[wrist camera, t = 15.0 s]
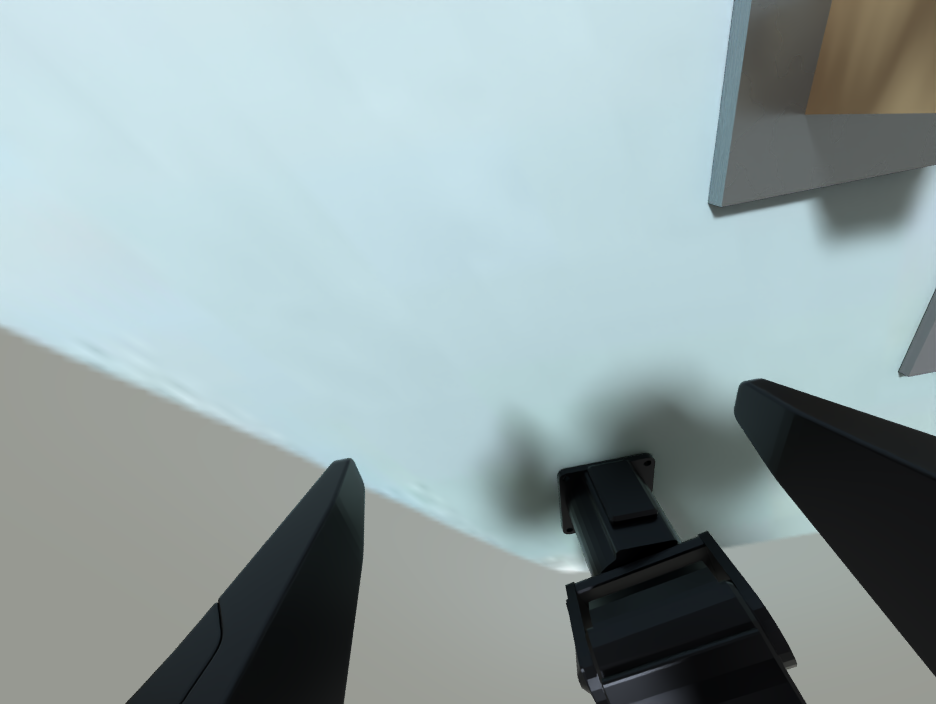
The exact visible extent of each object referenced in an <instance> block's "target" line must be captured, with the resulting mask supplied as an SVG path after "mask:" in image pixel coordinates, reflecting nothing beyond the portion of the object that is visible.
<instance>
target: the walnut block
mask: <svg viewBox="0 0 936 704" xmlns="http://www.w3.org/2000/svg"><path fill="white" fill-rule="evenodd" d="M903 113H936V0H832V3H831V8H830V12H829V16H828V20H827V24H826V28H825V33H824V37H823V41H822V45H821V49H820V53H819V58H818V62H817V66H816V70H815V74H814V78H813V83H812V87H811V91H810V95H809V99H808V103H807V108H806V112H805V115H813V114H903Z"/></svg>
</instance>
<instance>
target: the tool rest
mask: <svg viewBox="0 0 936 704" xmlns="http://www.w3.org/2000/svg"><path fill="white" fill-rule="evenodd" d="M831 3H832V0H734V7H733V15H732V22H731V30H730V38H729V46H728V53H727V61H726V69H725V76H724V84H723V92H722V100H721V107H720V115H719V123H718V131H717V138H716V146H715V154H714V161H713V169H712V177H711V185H710V192H709V200H708V203H710V204H713V205H717V206H720V207H724V206H729V205H734V204H739V203H744V202H749V201H754V200H759V199H764V198H769V197H774V196H779V195H785V194H790V193H795V192H800V191H805V190H810V189H815V188H820V187H825V186H830V185H835V184H840V183H845V182H850V181H855V180H860V179H865V178H870V177H876V176H881V175H886V174H891V173H896V172H901V171H906V170H911V169H916V168H921V167H926V166H931V165H936V113H903V114H813V115H805V112H806V108H807V103H808V99H809V95H810V91H811V87H812V83H813V78H814V74H815V70H816V66H817V62H818V58H819V53H820V49H821V45H822V41H823V37H824V33H825V28H826V24H827V20H828V16H829V12H830V8H831Z"/></svg>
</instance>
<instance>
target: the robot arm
mask: <svg viewBox="0 0 936 704" xmlns="http://www.w3.org/2000/svg"><path fill="white" fill-rule="evenodd" d="M734 415H735V418H736V420H737V422H738V423H739V425H740V426H741V428H742V429H743V431H744V432H745V434H746V435H747V437H748V438H749V440H750V441H751V443H752V444H753V446H754V447H755V449H756V450H757V452H758V454H759V455H760V457H761V458H762V460H763V461H764V463H765V464H766V466H767V467H768V469H769V470H770V472H771V473H772V474H773V476H774V477H775V479H776V480H777V481H778V482H779V484H780V485H781V486H782V488H783V489H784V490H785V491H786V493H787V494H788V495H789V496H790V497H791V499H792V500H793V501H794V502H795V504H796V505H797V506H798V507H799V509H800V510H801V511H802V512H803V514H804V515H805V516H806V517H807V518H808V520H809V521H810V522H811V523H812V525H813V526H814V527H815V528H816V530H817V531H818V532H819V533H820V535H821V536H822V537H823V538H824V539H825V541H826V542H827V543H828V544H829V546H830V547H831V548H832V549H833V551H834V552H835V553H836V554H837V556H838V557H839V558H840V559H841V560H842V562H843V563H844V564H845V565H846V567H847V568H848V569H849V570H850V572H851V573H852V574H853V575H854V577H855V578H856V579H857V580H858V581H859V583H860V584H861V585H862V586H863V588H864V589H865V590H866V591H867V593H868V594H869V595H870V596H871V597H872V599H873V600H874V601H875V603H876V604H877V605H878V606H879V607H880V609H881V610H882V611H883V612H884V613H885V615H886V616H887V617H888V618H889V620H890V621H891V622H892V624H893V625H894V626H895V627H896V628H897V630H898V631H899V632H900V633H901V635H902V636H903V637H904V638H905V640H906V641H907V642H908V643H909V645H910V646H911V647H912V648H913V649H914V651H915V652H916V653H917V654H918V656H919V657H920V658H921V659H922V660H923V662H924V663H925V664H926V666H927V667H928V668H929V669H930V670H931V672H932V673H933V674H934V675H935V676H936V436H933V435H930V434H927V433H924V432H921V431H918V430H915V429H912V428H909V427H906V426H903V425H900V424H897V423H894V422H891V421H888V420H885V419H882V418H879V417H876V416H873V415H870V414H867V413H864V412H861V411H858V410H855V409H852V408H849V407H846V406H843V405H840V404H837V403H834V402H831V401H828V400H825V399H822V398H819V397H816V396H813V395H810V394H807V393H804V392H801V391H798V390H795V389H792V388H789V387H786V386H783V385H780V384H777V383H774V382H771V381H768V380H765V379H753V380H748V381H744V382H742V383H741V384H740V385H739V388H738V392H737V397H736V402H735V406H734ZM654 467H655V460H654V458H653V457H652V455H651V454H648V453H646V454H640V455H635V456H630V457H625V458H619V459H614V460H609V461H604V462H599V463H594V464H588V465H583V466H578V467H573V468H568V469H563V470H561V471H559V473H558V475H557V478H558V490H559V502H560V514H561V526H562V529H563V532H564V533H565V534H573V533H576V535H577V538H578V540H579V543H580V546H581V549H582V551H583V554H584V557H585V560H586V562H587V565H588V568H589V571H590V573H591V576H592V577H590V578H588V579H585V580H583V581H580V582H577V583H574V582H572V583H570V584H567V585H565V586H566V591H567V596H568V599H567V600H566V602H567V603H566V605H567V609H568V612H569V616H570V622H571V627H572V632H573V637H574V642H575V649H576V662H577V675H578V679H579V682H580V685H581V687H582V688H583V689H584V690H586V691H587V692H588V693H590V694H591V695H592V696H593V698H594V700H595V702H596V704H806V702H805V700H804V699H803V697H802V695H801V694H800V692H799V690H798V689H797V687H796V685H795V684H794V682H793V680H792V679H791V677H790V675H789V674H788V672H787V669H790V668H793V667H796V666H797V663H796V660H795V657H794V656H793V653H792V651H791V649H790V647H789V645H788V643H787V642H786V640H785V638H784V636H783V635H782V633H781V631H780V629H779V628H778V626H777V625H776V623H775V621H774V620H773V618H772V617H771V615H770V614H769V612H768V610H767V609H766V607H765V606H764V605H763V603H762V602H761V600H760V599H759V597H758V596H757V594H756V593H755V592H754V591H753V590H752V588H751V586H750V585H749V584H748V583H747V581H746V580H745V579H744V577H743V576H742V575H741V574H740V572H739V571H738V570H737V568H736V567H735V566H734V565H733V563H732V562H731V561H730V560H729V558H728V557H727V556H726V554H725V553H724V552H723V550H722V549H721V548H720V547H719V545H718V544H717V543H716V541H715V540H714V539H713V537H712V536H711V535H710V534H709V532H708V531H706V532H703V533H701V534H698V537H695V538H693V539H690V540H687V541H685V542H681V540H680V539H679V537H678V535H677V534H676V532H675V530H674V529H673V527H672V525H671V524H670V522H669V520H668V519H667V517H666V515H665V514H664V512H663V510H662V509H661V507H660V505H659V504H658V502H657V500H656V499H655V497H654V495H653V494H652V489H653V478H654ZM565 476H566V477H565ZM364 504H365V487H364V483H363V480H362V478H361V476H360V473H359V471H358V469H357V467H356V464H355V462H354V461H353V460H352V459H351V458H346V459H341V460H336V461H334V462H333V463H332V464H331V465H330V466H329V467H328V468H327V469H326V471H325V472H324V473H323V474H322V476H321V477H320V478H319V479H318V480H317V481H316V483H315V484H314V485H313V486H312V488H311V489H310V490H309V491H308V492H307V493H306V495H305V496H304V497H303V498H302V499H301V501H300V502H299V503H298V504H297V505H296V507H295V508H294V509H293V510H292V511H291V513H290V514H289V515H288V516H287V517H286V519H285V520H284V521H283V522H282V524H281V525H280V526H279V527H278V528H277V530H276V531H275V532H274V533H273V534H272V535H271V537H270V538H269V539H268V540H267V541H266V543H265V544H264V545H263V546H262V547H261V549H260V550H259V551H258V552H257V553H256V555H255V556H254V557H253V558H252V559H251V561H250V562H249V563H248V564H247V565H246V567H245V568H244V569H243V570H242V571H241V573H240V574H239V575H238V576H237V577H236V579H235V580H234V581H233V582H232V584H230V586H229V587H228V588H227V589H226V590H225V592H224V593H223V594H222V595H221V596H220V598H219V600H218V603H215V604H214V605H213V606H212V607H211V608H210V610H209V611H208V612H207V613H206V614H205V616H204V617H203V618H202V619H201V620H200V621H199V623H198V624H197V625H196V626H195V627H194V628H193V630H192V631H191V632H190V633H189V634H188V635H187V636H186V638H185V639H184V640H183V641H182V642H181V644H180V645H179V646H178V647H177V648H176V650H175V651H174V652H173V653H172V654H171V655H170V656H169V657H168V658H167V659H166V660H165V661H164V662H163V664H162V665H161V666H160V667H159V668H158V669H157V670H156V671H155V672H154V673H153V674H152V676H151V677H150V678H149V679H148V680H147V681H146V682H145V683H144V684H143V685H142V686H141V688H140V689H139V690H138V691H137V692H136V693H135V694H134V695H133V696H132V697H131V698H130V699H129V700H128V701H127V702H126V704H344V698H345V690H346V682H347V675H348V667H349V660H350V653H351V645H352V638H353V630H354V623H355V616H356V608H357V600H358V593H359V586H360V578H361V571H362V563H363V550H364V549H363V548H364V508H365V505H364Z"/></svg>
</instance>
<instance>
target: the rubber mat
mask: <svg viewBox="0 0 936 704" xmlns="http://www.w3.org/2000/svg"><path fill="white" fill-rule="evenodd" d="M899 372H900V373H902V374H904V375H906V376H908V377H910V376H915V375H921V374H926V373H931V372H936V291H935V293H934V295H933V297H932V300H931V302H930V304H929V306H928V308H927V311H926V313H925V315H924V317H923V319H922V322H921V324H920V326H919V328H918V330H917V332H916V335H915V337H914V339H913V341H912V343H911V346H910V348H909V350H908V352H907V354H906V357H905V359H904V361H903V363H902V365H901V368H900V370H899Z"/></svg>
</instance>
